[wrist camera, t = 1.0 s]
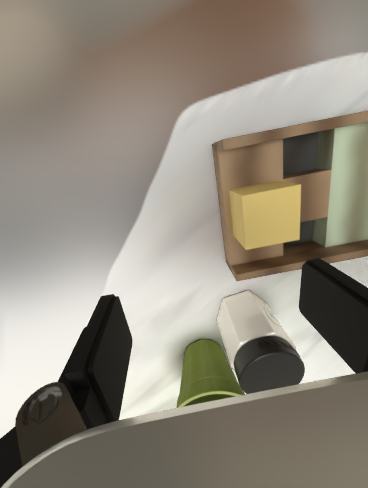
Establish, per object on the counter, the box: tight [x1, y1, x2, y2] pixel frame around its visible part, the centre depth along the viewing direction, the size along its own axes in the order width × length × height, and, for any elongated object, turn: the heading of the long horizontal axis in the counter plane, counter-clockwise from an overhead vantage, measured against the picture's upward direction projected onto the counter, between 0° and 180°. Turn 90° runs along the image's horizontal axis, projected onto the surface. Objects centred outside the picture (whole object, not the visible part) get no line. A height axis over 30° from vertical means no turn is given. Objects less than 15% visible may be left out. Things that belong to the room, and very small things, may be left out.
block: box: [229, 181, 301, 250], centre depth 24 cm, size 6×6×5 cm
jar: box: [217, 290, 305, 394], centre depth 30 cm, size 9×8×12 cm
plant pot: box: [177, 339, 245, 408], centre depth 34 cm, size 12×12×11 cm
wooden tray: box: [212, 111, 368, 281], centre depth 26 cm, size 22×17×6 cm
